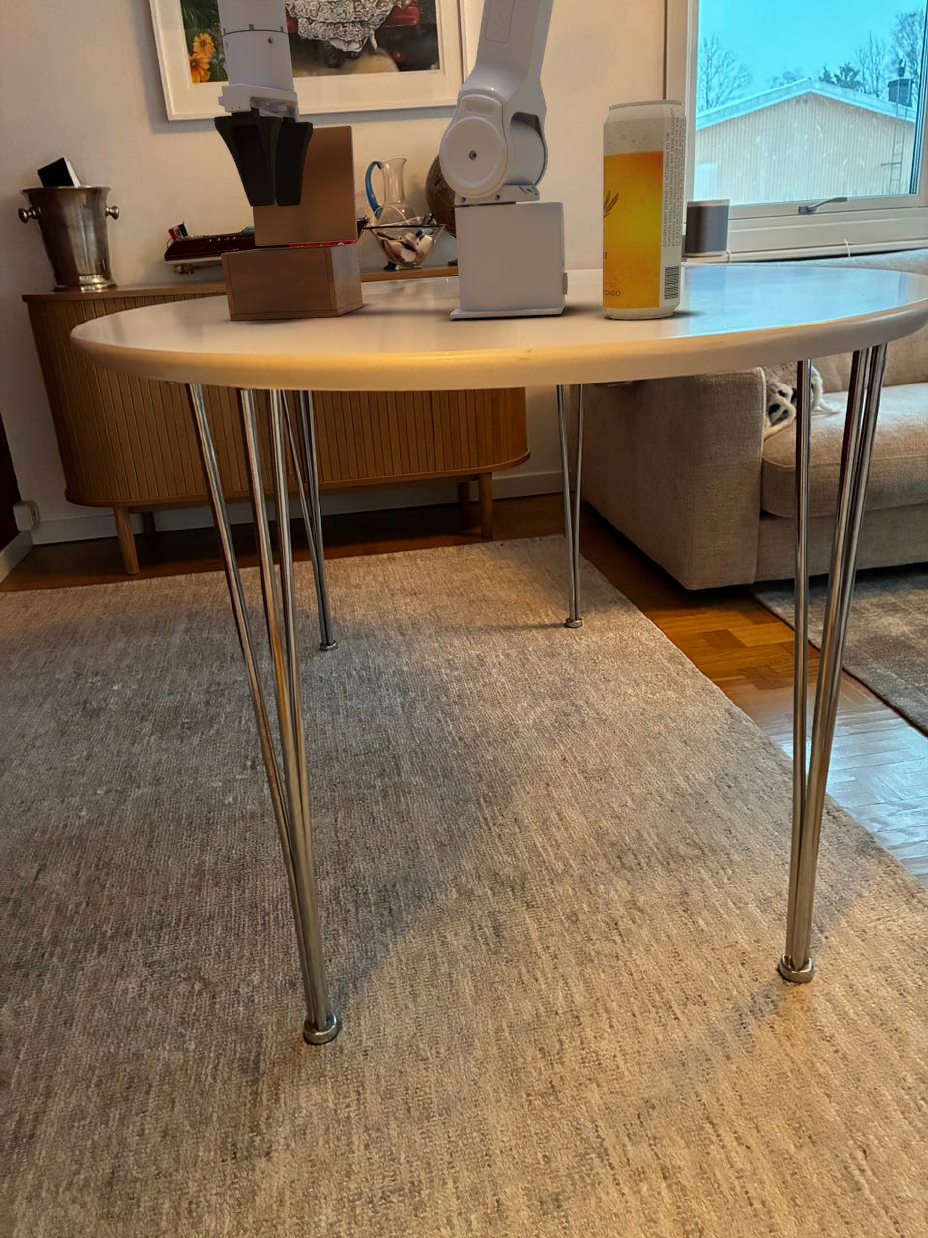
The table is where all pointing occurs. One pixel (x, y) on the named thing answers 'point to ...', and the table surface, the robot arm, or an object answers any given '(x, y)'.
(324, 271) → the chest
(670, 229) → the beer can
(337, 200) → the lid
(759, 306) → the table surface
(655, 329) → the table surface
